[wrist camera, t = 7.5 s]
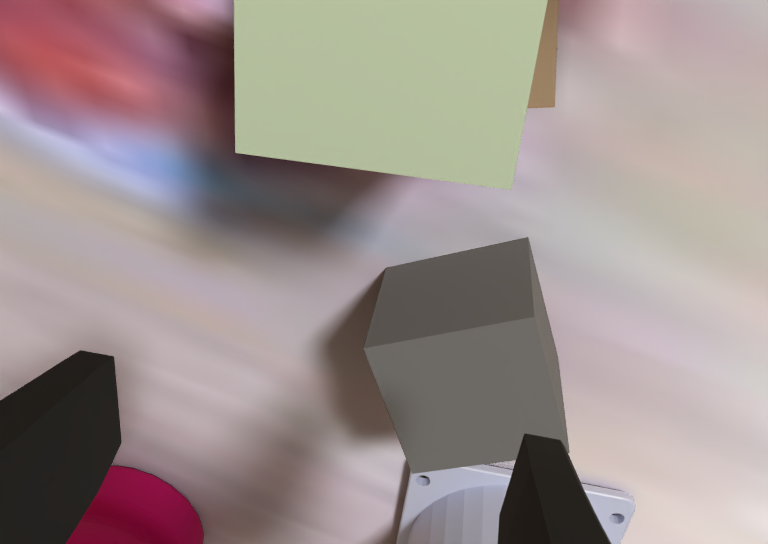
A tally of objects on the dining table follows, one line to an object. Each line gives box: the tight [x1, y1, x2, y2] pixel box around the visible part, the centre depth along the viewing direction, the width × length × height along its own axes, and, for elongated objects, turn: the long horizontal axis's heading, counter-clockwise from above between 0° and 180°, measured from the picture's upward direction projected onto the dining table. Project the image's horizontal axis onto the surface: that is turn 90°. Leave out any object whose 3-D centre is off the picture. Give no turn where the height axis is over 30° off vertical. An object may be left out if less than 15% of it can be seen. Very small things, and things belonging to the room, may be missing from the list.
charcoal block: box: [363, 237, 569, 474], centre depth 21 cm, size 4×4×4 cm
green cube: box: [234, 0, 548, 190], centre depth 12 cm, size 4×4×4 cm
